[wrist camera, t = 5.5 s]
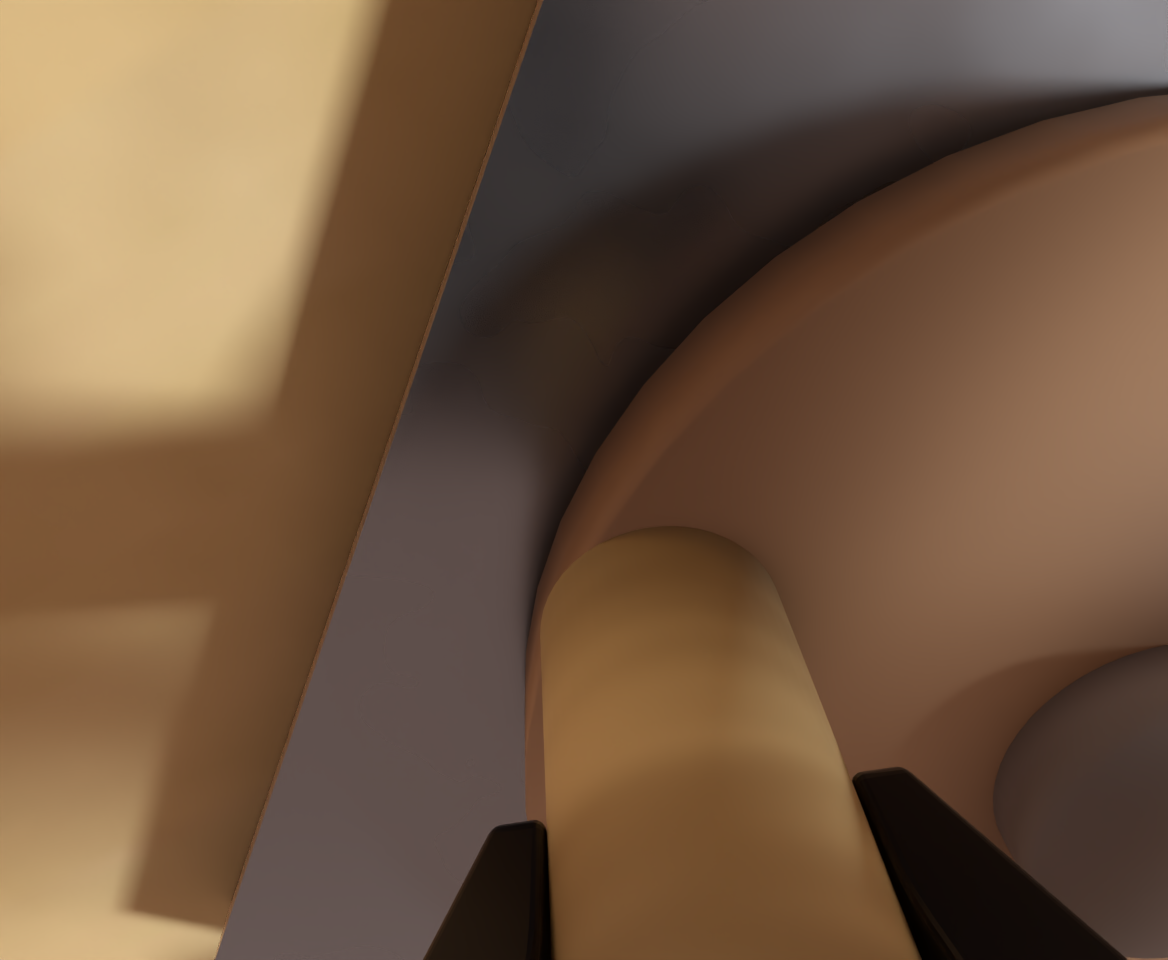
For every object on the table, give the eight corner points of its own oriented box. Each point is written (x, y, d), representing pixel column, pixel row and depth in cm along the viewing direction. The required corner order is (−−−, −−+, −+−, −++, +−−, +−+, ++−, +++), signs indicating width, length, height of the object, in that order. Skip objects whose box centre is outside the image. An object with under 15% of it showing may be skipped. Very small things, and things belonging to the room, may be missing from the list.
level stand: (2062, 232, 13) (2896, 398, 8) (1167, 1101, 20) (1349, 1431, 16) (718, -532, 9) (930, -1015, 4) (230, 906, 16) (122, 1274, 12)
